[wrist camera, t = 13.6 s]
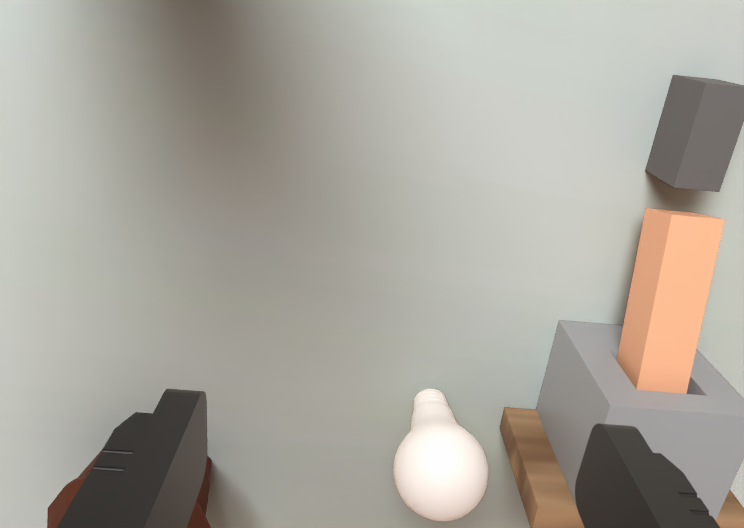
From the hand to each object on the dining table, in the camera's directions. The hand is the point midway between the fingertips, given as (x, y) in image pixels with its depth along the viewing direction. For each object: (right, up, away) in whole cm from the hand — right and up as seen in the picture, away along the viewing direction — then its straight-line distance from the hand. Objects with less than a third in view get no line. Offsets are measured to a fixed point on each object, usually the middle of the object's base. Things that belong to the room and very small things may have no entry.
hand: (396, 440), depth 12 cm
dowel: (+18, -1, +27) cm, 33 cm away
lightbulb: (+4, -6, +34) cm, 35 cm away
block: (+17, -4, +33) cm, 37 cm away
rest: (+19, +12, +25) cm, 34 cm away
